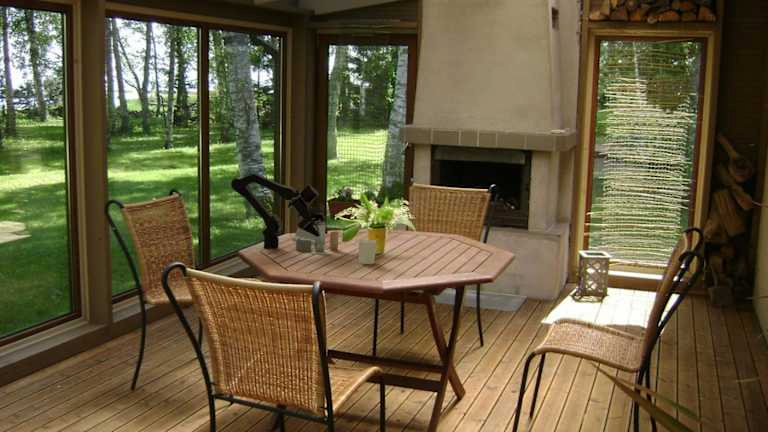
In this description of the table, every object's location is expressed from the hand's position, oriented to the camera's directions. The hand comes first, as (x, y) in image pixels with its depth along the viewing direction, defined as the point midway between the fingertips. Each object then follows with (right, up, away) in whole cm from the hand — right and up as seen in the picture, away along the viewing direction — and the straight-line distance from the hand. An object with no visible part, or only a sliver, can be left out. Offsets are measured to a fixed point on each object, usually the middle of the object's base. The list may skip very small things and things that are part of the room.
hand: (323, 234), depth 387 cm
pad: (-2, -8, +2) cm, 9 cm away
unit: (-10, -7, +6) cm, 14 cm away
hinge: (-9, -5, +25) cm, 27 cm away
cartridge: (-2, -8, +2) cm, 8 cm away
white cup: (+21, -12, -16) cm, 29 cm away
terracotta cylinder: (+4, -7, +10) cm, 13 cm away
